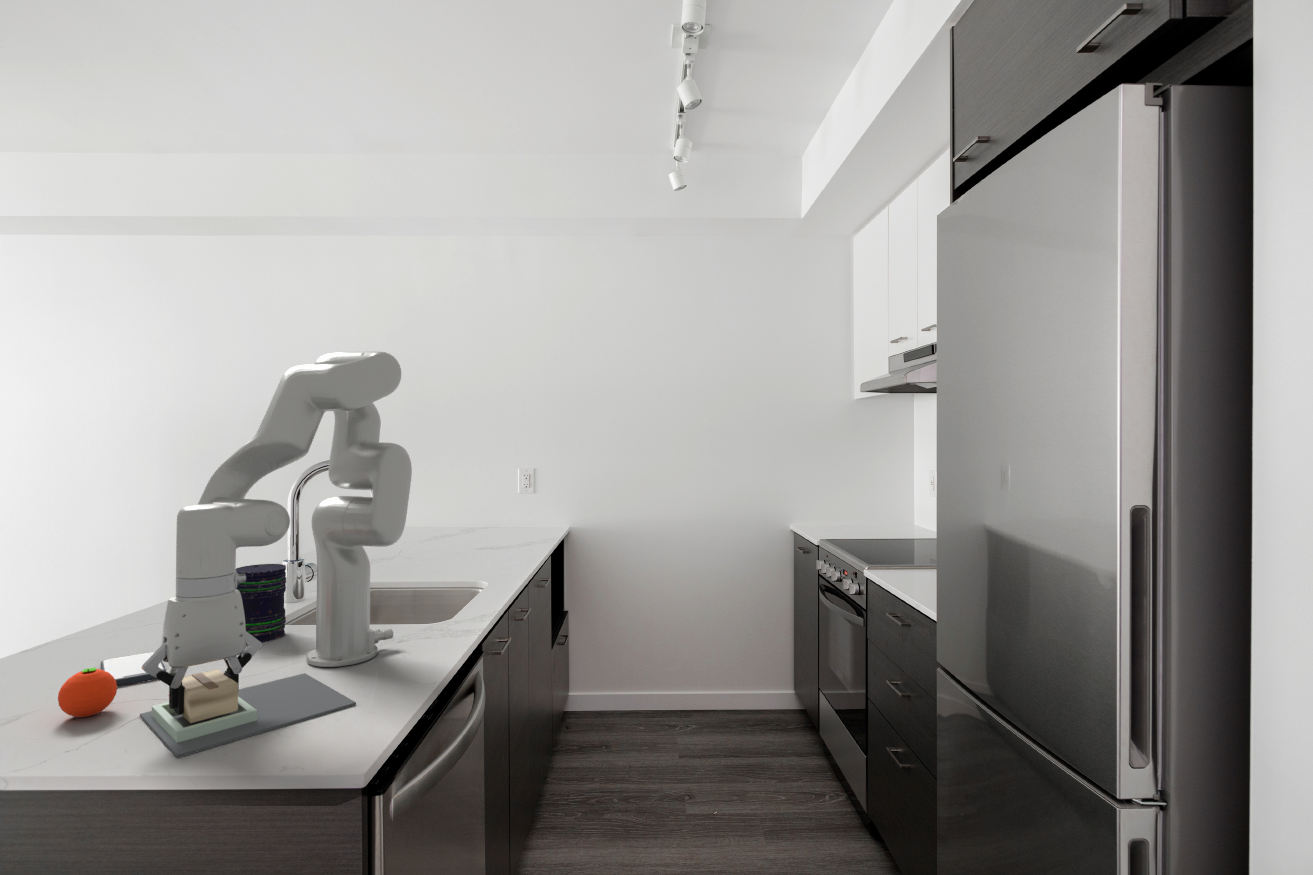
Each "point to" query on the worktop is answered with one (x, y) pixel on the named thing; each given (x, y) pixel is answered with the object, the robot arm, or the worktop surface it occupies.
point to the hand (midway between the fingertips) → (204, 703)
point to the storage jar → (264, 600)
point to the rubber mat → (260, 712)
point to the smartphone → (129, 668)
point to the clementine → (87, 692)
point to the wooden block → (209, 695)
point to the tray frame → (181, 734)
